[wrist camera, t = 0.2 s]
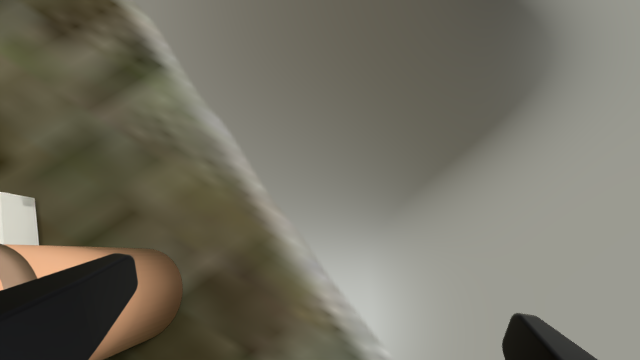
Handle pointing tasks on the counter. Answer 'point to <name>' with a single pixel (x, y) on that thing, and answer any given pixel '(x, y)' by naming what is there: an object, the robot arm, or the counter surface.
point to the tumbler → (141, 311)
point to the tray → (18, 220)
